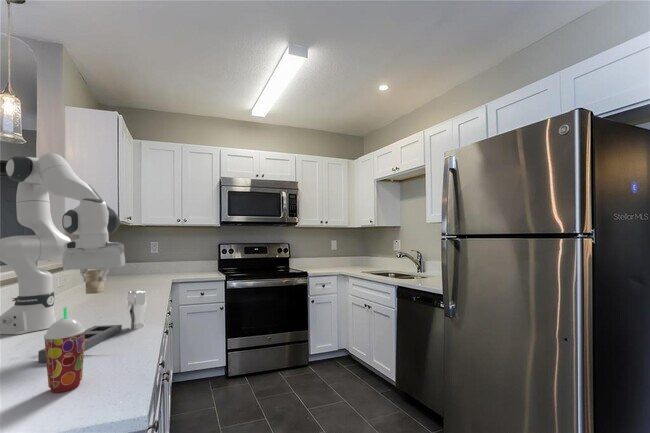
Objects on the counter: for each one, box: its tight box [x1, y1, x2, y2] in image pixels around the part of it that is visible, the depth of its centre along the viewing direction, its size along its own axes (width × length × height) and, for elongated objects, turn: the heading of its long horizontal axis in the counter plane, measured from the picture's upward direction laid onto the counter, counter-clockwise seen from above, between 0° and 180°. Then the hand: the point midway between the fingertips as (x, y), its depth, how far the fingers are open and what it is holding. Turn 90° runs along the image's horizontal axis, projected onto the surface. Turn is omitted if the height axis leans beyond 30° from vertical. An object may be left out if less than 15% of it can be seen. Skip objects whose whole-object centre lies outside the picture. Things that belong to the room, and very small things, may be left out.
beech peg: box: [85, 269, 105, 295], centre depth 123 cm, size 4×4×8 cm
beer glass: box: [126, 289, 147, 330], centre depth 137 cm, size 7×7×15 cm
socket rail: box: [37, 324, 123, 364], centre depth 117 cm, size 27×10×4 cm, turn 2°
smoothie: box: [43, 306, 86, 394], centre depth 86 cm, size 8×8×20 cm
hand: (94, 281), depth 123 cm, fingers closed on beech peg, 4 cm apart
